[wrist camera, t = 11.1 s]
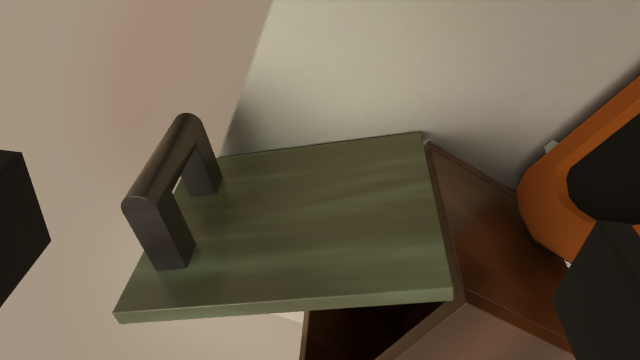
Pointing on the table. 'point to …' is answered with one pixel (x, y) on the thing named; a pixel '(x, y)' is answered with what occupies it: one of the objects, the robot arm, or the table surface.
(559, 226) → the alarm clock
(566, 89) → the table surface
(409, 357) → the cupboard
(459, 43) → the table surface
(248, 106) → the table surface
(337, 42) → the table surface
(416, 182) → the cupboard door
